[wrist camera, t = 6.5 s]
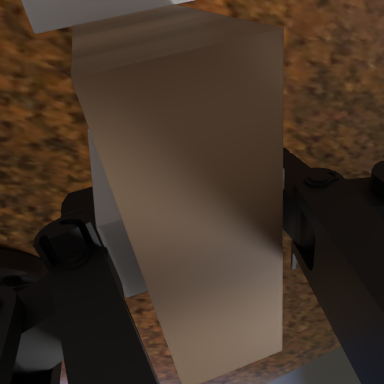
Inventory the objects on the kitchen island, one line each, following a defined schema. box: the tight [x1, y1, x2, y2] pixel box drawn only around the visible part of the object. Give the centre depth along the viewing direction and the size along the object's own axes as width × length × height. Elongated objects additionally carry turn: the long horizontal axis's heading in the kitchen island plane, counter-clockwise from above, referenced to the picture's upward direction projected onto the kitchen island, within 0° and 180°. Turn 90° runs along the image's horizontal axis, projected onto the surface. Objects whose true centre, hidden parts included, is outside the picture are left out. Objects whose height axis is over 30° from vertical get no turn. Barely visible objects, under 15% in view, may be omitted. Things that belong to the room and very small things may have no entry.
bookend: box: [21, 0, 284, 384], centre depth 9 cm, size 17×6×8 cm, turn 9°
